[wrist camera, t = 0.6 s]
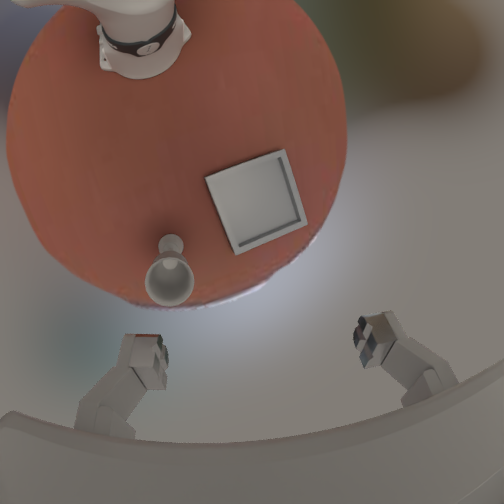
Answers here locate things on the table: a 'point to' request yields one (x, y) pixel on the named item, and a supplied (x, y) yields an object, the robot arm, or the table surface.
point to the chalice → (169, 273)
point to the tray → (257, 200)
